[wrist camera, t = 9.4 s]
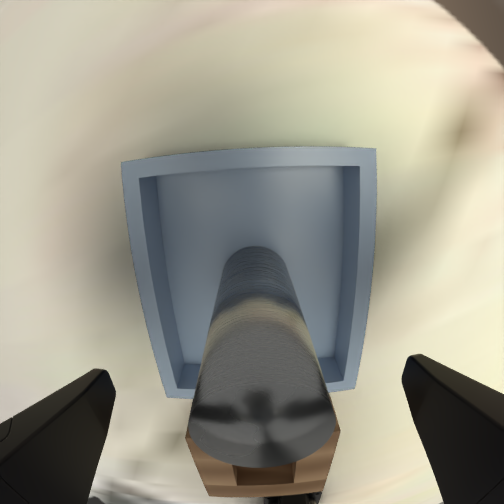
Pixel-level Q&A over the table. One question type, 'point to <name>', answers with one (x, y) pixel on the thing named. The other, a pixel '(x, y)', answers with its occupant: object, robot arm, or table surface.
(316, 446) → the pin
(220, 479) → the socket block
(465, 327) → the table surface
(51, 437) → the robot arm
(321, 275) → the tray
